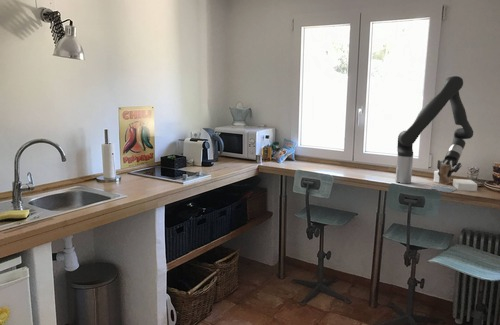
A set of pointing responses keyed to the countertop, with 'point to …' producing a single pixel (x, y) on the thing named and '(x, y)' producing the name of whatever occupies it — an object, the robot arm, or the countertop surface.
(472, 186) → the shelf riser
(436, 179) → the medicine bottle
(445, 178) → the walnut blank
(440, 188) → the slate mat
